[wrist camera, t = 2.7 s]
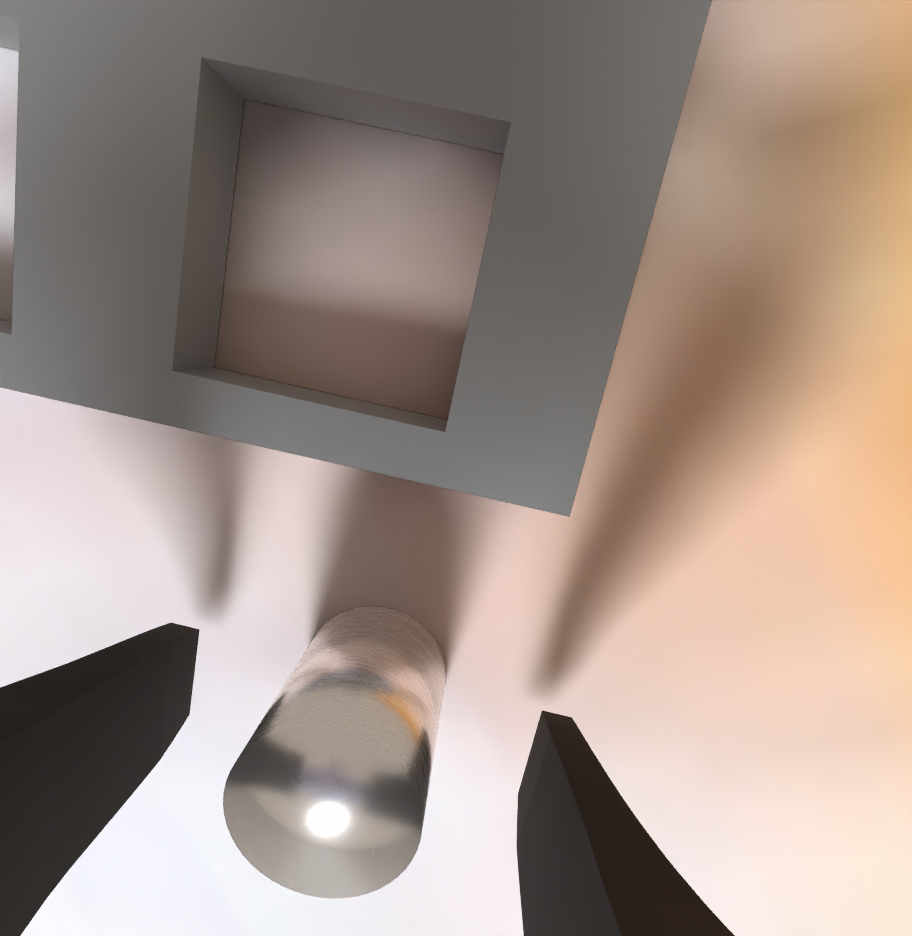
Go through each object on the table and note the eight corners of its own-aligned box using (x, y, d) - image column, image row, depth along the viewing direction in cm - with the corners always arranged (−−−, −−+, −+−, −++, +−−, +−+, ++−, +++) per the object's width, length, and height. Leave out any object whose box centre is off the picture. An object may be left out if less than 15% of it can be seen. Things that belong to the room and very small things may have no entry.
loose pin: (298, 713, 13) (213, 871, 9) (319, 591, 12) (235, 706, 8) (430, 745, 13) (401, 917, 9) (459, 624, 12) (441, 755, 8)
